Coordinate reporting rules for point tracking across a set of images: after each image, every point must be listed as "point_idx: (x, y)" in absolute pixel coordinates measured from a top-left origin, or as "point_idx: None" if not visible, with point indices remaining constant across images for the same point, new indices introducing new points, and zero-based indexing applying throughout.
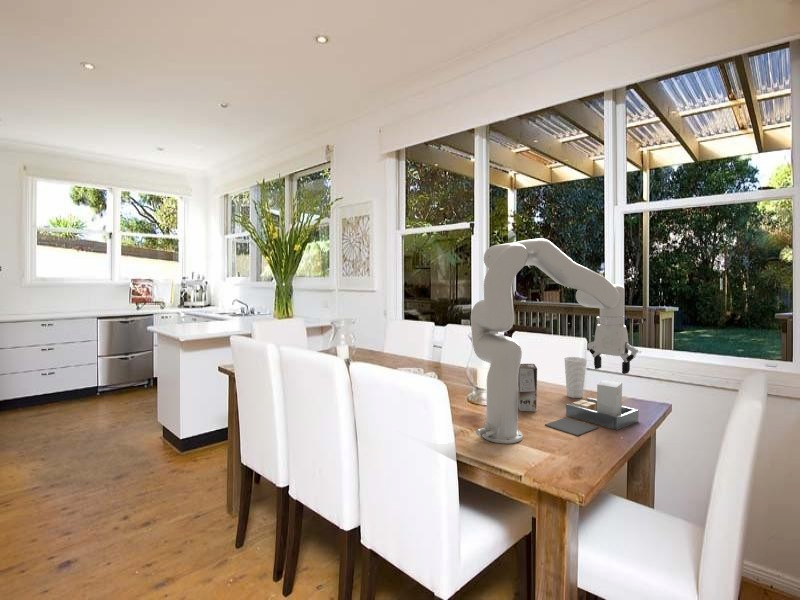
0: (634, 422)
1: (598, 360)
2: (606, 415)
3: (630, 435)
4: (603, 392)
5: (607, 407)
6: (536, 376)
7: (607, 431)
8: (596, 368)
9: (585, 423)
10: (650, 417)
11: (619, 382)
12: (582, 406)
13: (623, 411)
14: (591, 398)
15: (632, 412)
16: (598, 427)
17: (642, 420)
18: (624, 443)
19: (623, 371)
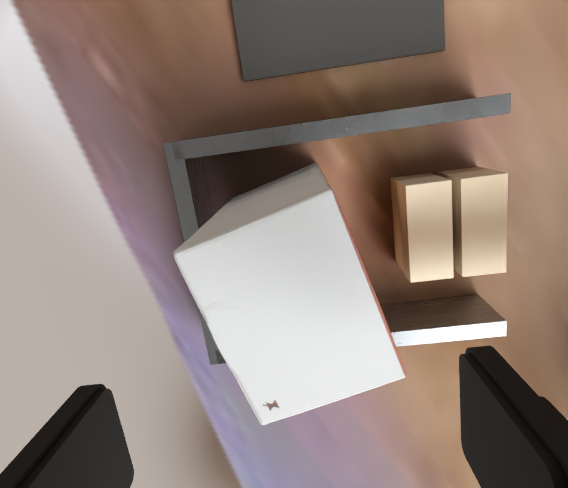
0: None
1: (521, 483)
2: (227, 134)
3: (107, 135)
4: (278, 198)
5: (260, 193)
6: None
7: (191, 81)
8: (466, 353)
9: (314, 61)
10: (233, 418)
11: (272, 410)
12: (433, 180)
13: None
14: (482, 335)
15: None
16: (244, 80)
17: None
18: (40, 6)
19: (71, 400)
